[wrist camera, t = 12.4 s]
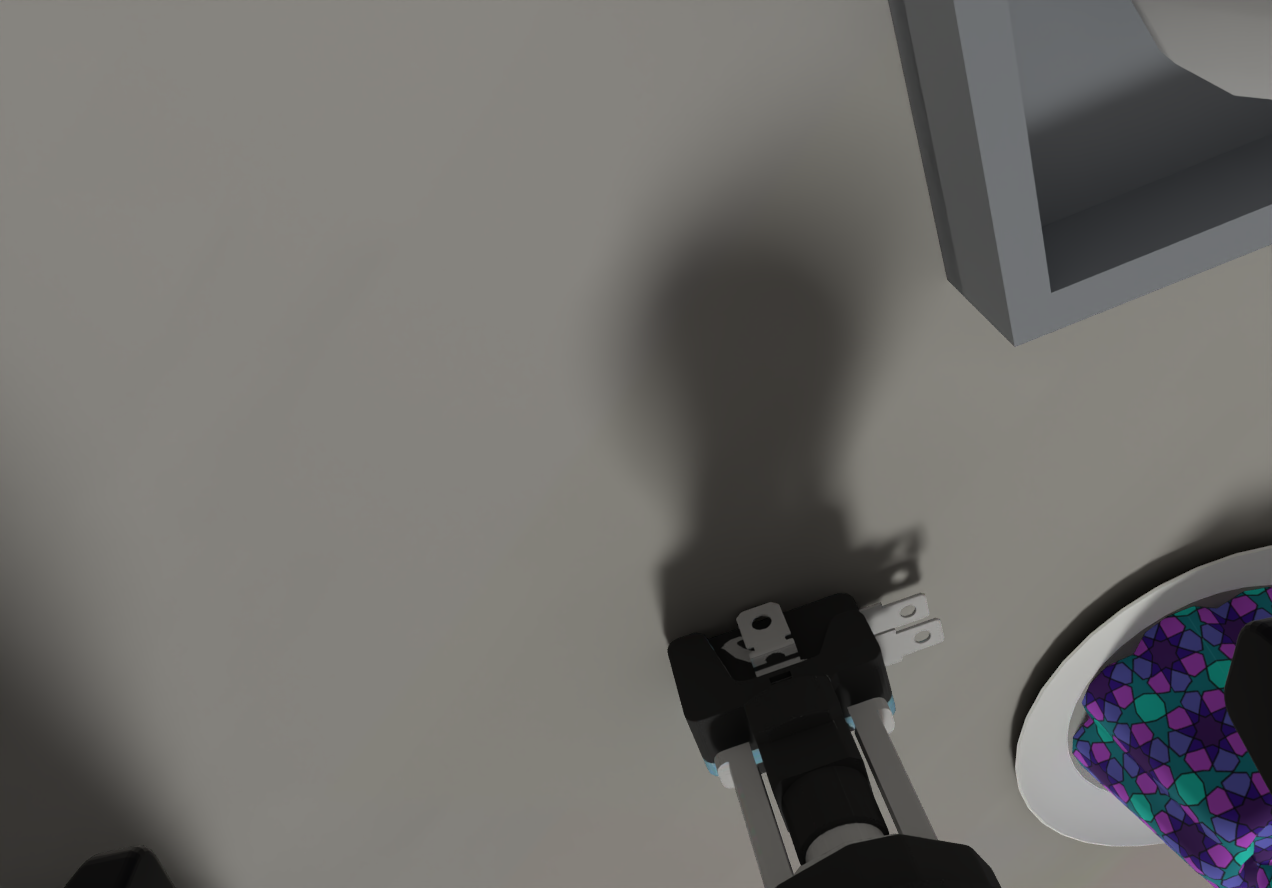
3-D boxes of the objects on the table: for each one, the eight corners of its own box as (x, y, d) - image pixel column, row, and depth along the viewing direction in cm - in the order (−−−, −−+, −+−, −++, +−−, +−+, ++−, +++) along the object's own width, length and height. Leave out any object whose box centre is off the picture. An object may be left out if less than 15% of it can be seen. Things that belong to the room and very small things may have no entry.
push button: (901, 511, 25) (1137, 886, 17) (934, 662, 28) (1148, 1044, 20) (633, 606, 25) (735, 1023, 17) (694, 745, 28) (806, 1157, 20)
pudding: (1008, 866, 34) (1093, 1028, 30) (995, 599, 27) (1102, 757, 23) (1364, 762, 34) (1501, 908, 30) (1438, 471, 28) (1627, 604, 23)
